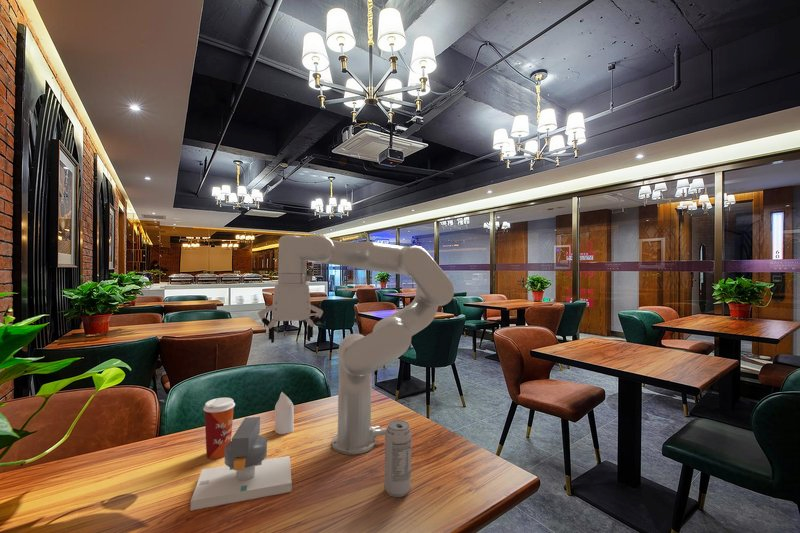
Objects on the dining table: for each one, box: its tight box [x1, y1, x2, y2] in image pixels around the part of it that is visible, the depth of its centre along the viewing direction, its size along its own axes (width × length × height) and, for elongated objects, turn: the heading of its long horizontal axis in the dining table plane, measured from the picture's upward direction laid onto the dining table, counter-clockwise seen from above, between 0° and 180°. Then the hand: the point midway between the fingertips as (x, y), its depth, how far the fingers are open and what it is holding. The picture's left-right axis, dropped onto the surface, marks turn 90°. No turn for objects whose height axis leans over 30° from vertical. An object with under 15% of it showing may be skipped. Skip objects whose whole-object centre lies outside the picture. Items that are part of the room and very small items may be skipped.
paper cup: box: [202, 397, 236, 460], centre depth 94 cm, size 8×8×14 cm
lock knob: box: [224, 416, 268, 471], centre depth 81 cm, size 12×9×7 cm
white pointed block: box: [274, 391, 295, 435], centre depth 109 cm, size 6×12×6 cm
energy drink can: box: [383, 419, 412, 498], centre depth 80 cm, size 6×6×15 cm
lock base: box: [189, 455, 293, 511], centre depth 81 cm, size 20×12×6 cm, turn 110°
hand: (290, 341), depth 97 cm, fingers open, 9 cm apart
